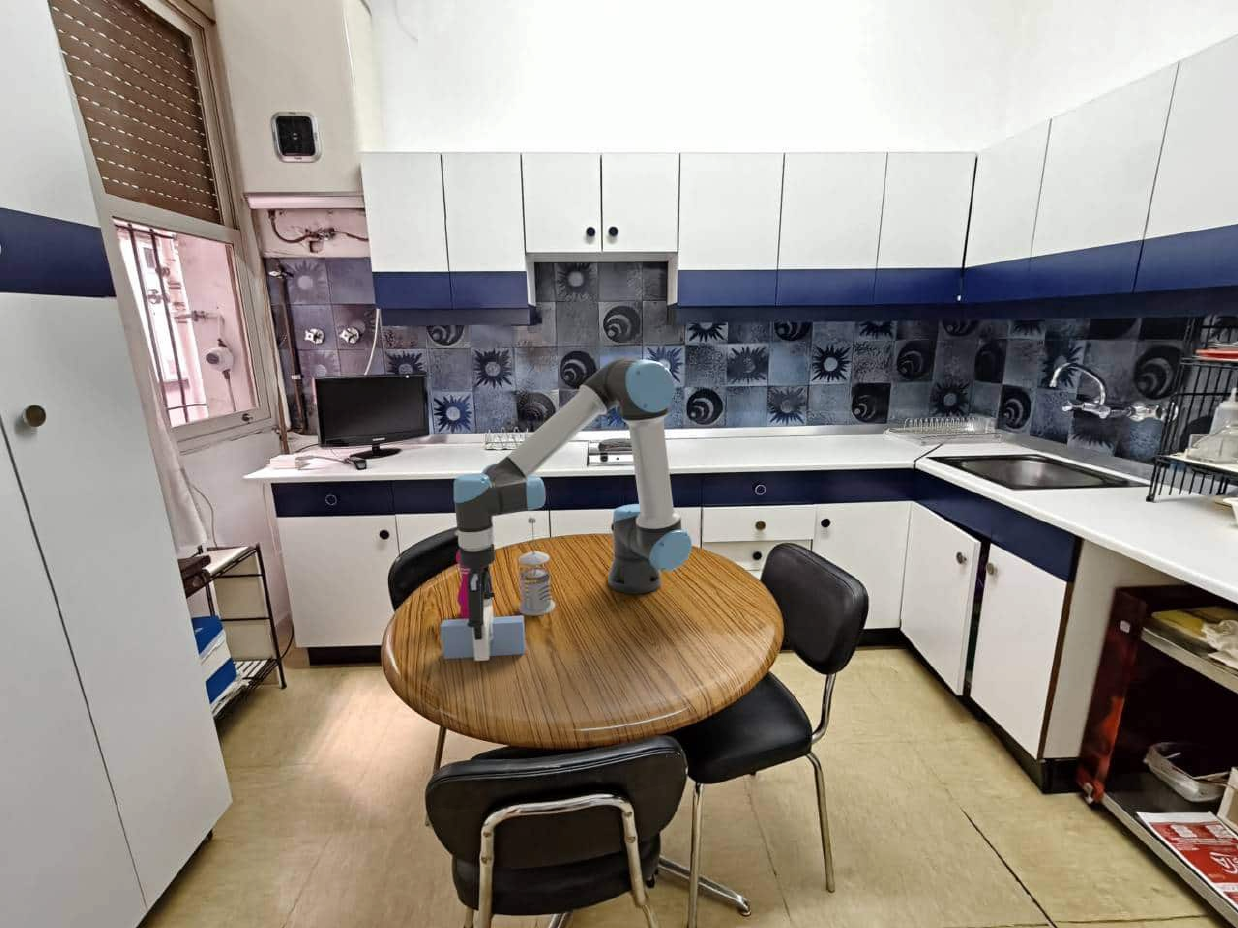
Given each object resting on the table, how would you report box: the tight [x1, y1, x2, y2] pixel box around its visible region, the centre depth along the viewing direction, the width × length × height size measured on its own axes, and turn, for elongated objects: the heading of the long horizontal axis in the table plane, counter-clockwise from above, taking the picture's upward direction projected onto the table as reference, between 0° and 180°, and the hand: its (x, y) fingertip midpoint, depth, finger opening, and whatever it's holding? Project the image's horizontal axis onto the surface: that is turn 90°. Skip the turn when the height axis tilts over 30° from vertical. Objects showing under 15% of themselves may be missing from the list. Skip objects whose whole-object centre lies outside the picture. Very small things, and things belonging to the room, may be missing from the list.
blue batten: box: [440, 614, 527, 660], centre depth 123 cm, size 18×3×8 cm, turn 95°
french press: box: [517, 516, 556, 616], centre depth 142 cm, size 10×12×25 cm
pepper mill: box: [455, 549, 470, 619], centre depth 140 cm, size 7×7×20 cm
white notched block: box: [473, 604, 494, 662], centre depth 123 cm, size 10×3×8 cm, turn 5°
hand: (484, 636), depth 123 cm, fingers closed on white notched block, 10 cm apart
